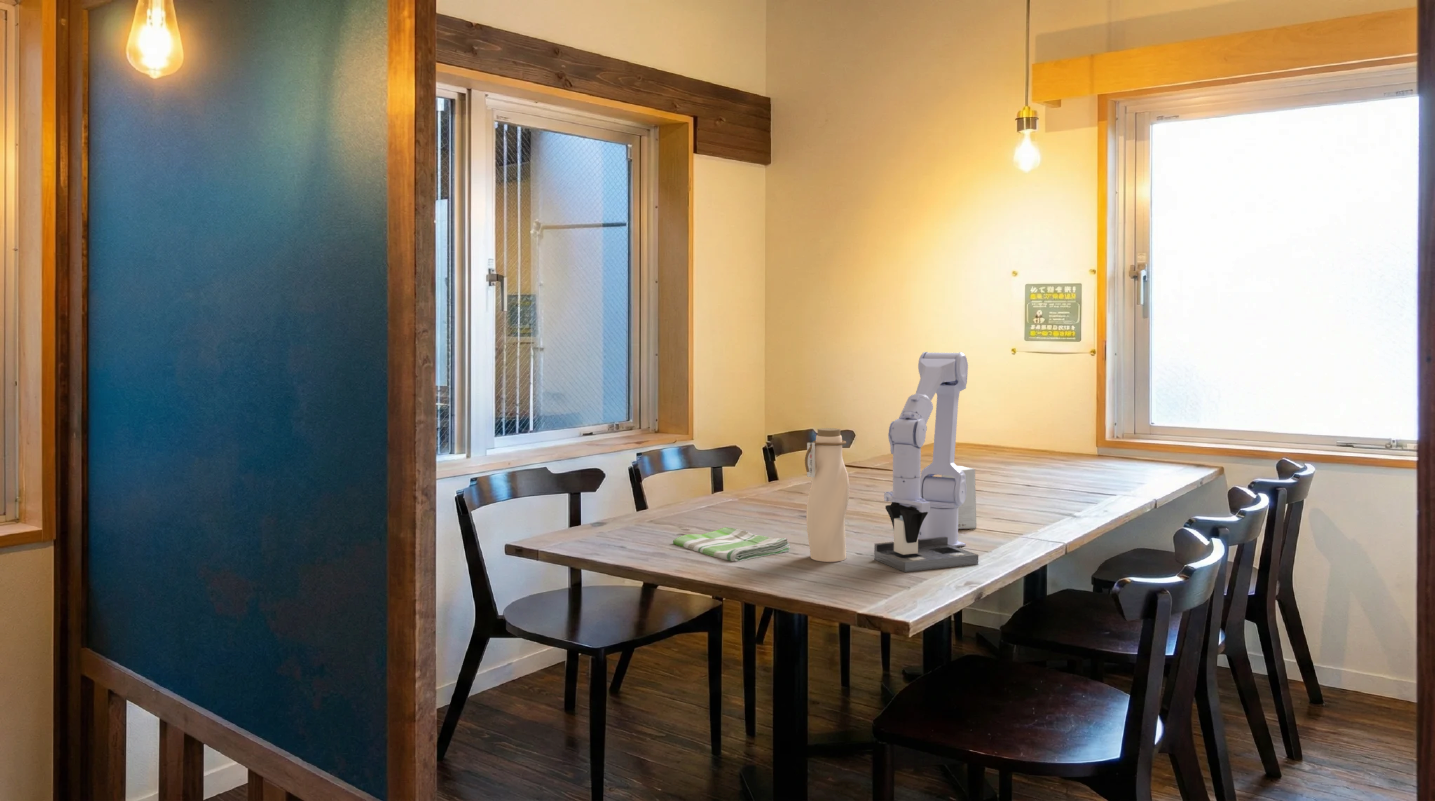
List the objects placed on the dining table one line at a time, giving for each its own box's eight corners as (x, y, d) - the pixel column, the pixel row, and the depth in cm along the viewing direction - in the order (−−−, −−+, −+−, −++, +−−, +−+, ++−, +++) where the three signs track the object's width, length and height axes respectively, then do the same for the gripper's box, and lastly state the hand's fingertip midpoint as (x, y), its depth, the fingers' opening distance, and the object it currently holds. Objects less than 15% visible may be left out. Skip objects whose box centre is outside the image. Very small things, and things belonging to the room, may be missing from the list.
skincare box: (976, 528, 246) (977, 469, 245) (954, 529, 245) (955, 470, 244) (962, 522, 254) (963, 464, 253) (940, 523, 253) (940, 465, 252)
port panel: (874, 559, 214) (874, 543, 214) (944, 552, 221) (945, 536, 221) (905, 572, 203) (905, 555, 203) (978, 564, 210) (978, 547, 210)
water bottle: (822, 565, 209) (823, 432, 207) (794, 557, 216) (794, 429, 214) (858, 558, 215) (858, 429, 213) (829, 551, 222) (830, 426, 220)
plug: (893, 551, 211) (894, 514, 210) (908, 549, 212) (908, 513, 212) (903, 554, 208) (903, 517, 207) (917, 553, 209) (918, 516, 209)
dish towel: (732, 565, 212) (732, 548, 212) (670, 546, 230) (670, 531, 230) (792, 553, 223) (792, 537, 222) (728, 536, 241) (728, 522, 241)
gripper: (872, 472, 214) (871, 535, 215) (909, 482, 201) (908, 549, 202) (900, 470, 217) (899, 532, 218) (939, 480, 203) (938, 546, 204)
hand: (906, 540), depth 210 cm, fingers closed on plug, 4 cm apart
